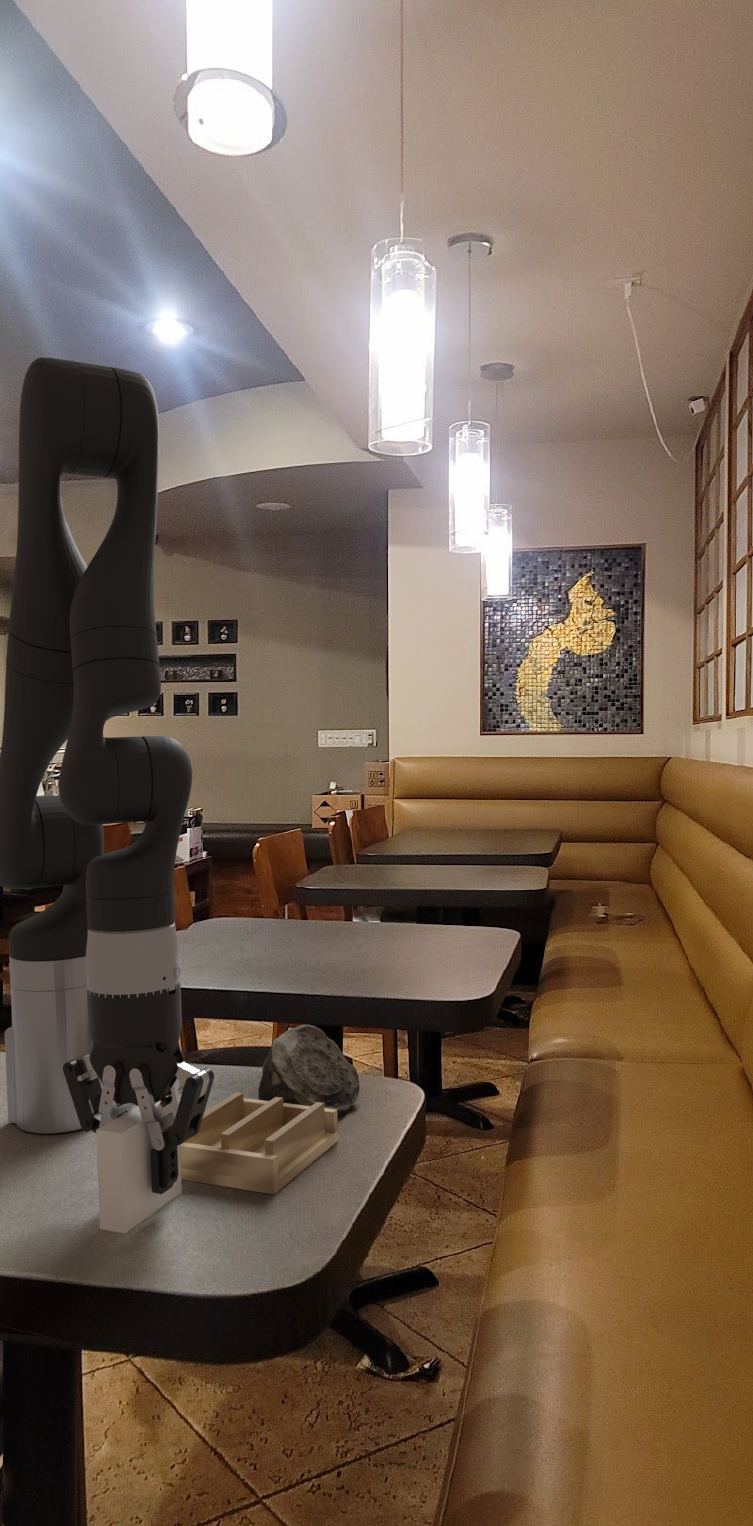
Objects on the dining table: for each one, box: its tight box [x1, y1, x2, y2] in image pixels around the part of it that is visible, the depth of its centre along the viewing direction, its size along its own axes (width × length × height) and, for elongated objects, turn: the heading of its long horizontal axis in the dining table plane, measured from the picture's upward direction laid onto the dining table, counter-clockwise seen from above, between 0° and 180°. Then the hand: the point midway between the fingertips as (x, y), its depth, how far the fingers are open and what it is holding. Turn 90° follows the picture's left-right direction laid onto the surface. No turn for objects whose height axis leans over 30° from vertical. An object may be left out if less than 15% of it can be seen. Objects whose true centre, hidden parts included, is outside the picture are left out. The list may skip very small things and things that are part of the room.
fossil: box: [257, 1024, 360, 1117], centre depth 112 cm, size 11×9×10 cm
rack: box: [180, 1091, 339, 1195], centre depth 99 cm, size 11×13×4 cm
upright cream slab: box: [95, 1099, 183, 1234], centre depth 89 cm, size 2×8×8 cm, turn 157°
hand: (141, 1185), depth 89 cm, fingers open, 3 cm apart
